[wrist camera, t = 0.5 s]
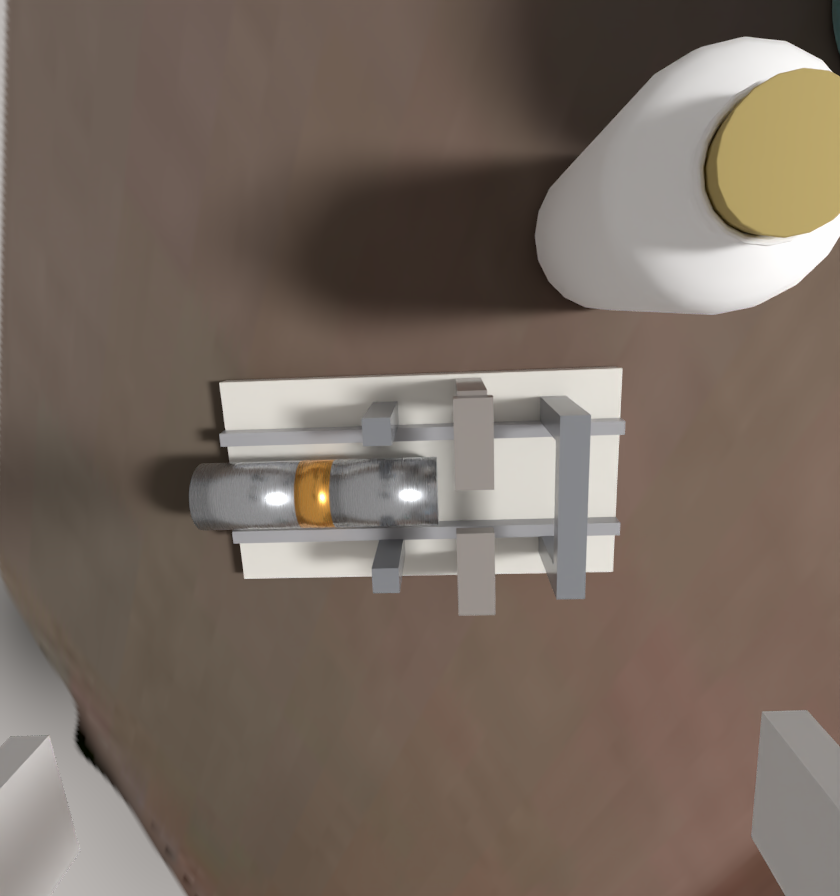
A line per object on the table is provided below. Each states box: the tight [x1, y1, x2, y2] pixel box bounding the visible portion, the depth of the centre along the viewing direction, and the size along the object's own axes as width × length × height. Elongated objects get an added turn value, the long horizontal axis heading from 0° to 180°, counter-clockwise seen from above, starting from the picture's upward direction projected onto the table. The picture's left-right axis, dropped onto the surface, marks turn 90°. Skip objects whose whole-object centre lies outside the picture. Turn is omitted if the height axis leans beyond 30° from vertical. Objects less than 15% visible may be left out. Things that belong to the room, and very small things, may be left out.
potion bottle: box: [535, 37, 840, 315], centre depth 24 cm, size 8×8×18 cm
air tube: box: [189, 457, 439, 530], centre depth 34 cm, size 14×4×4 cm, turn 92°
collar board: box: [219, 366, 625, 615], centre depth 33 cm, size 13×24×7 cm, turn 92°
